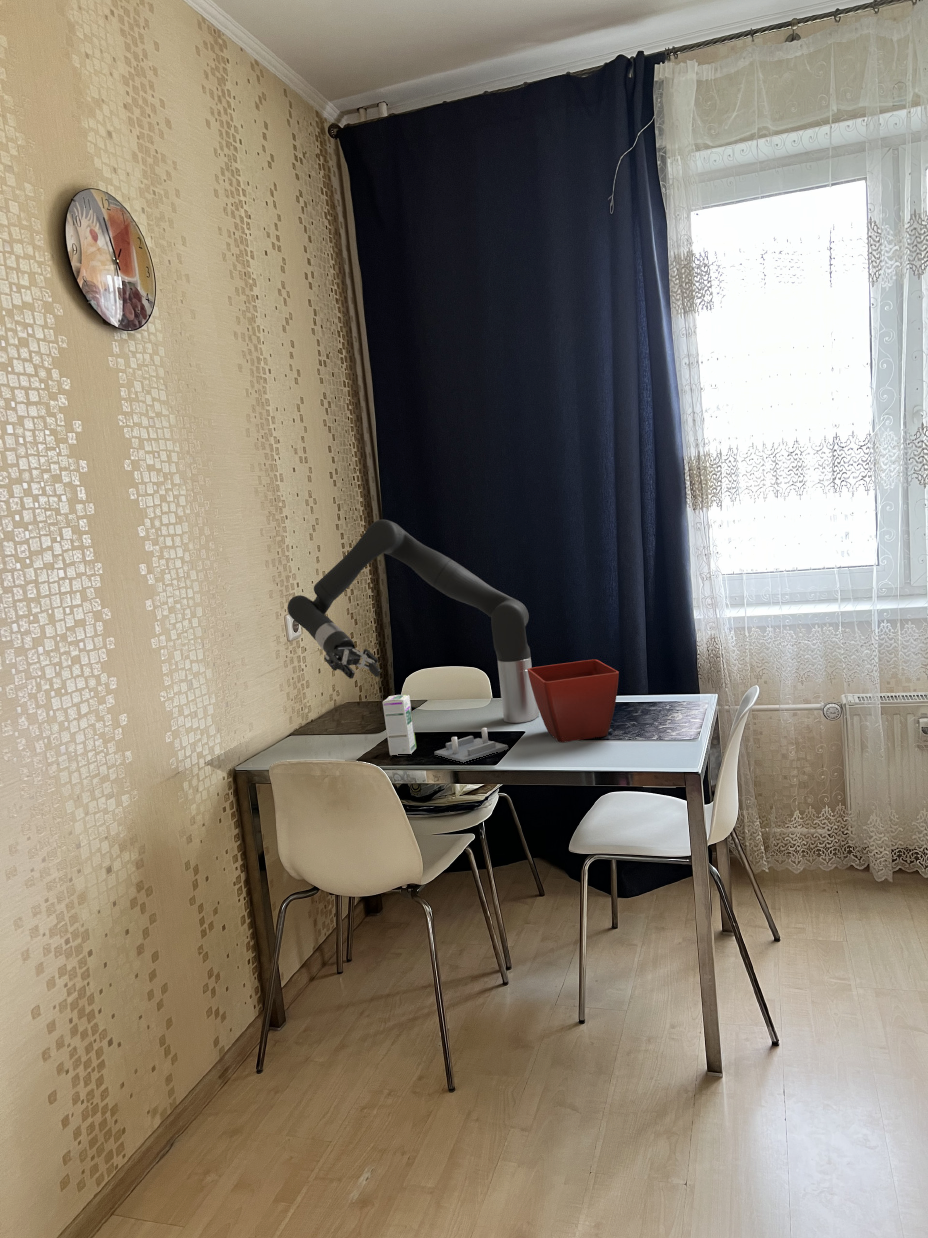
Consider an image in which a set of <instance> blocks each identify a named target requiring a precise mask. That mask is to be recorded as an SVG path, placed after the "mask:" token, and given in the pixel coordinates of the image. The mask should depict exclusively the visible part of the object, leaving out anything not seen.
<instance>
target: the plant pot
mask: <svg viewBox="0 0 928 1238" xmlns="http://www.w3.org/2000/svg"><path fill="white" fill-rule="evenodd" d="M527 670H528V675H529V679H530V683H531V687H532V690H533V694H534V697H535V700H536V703H537V706H538V709H539V715H540V717H541V719H542V722H543V724H544V726H545V729H546V730H547V732H548V733H549V734H550V735H551V736H552V737H553V738H554V739H555V740H556V741H557V742H558V743H567V742H568V743H569V742H575V741H580V740H581V741H582V740H590V739H595V737H596V738H602V737H607V736H608V734H609V730H610V728H611V725H612V721H613V717H614V712H615V707H616V703H617V694H618V689H619V688H618V687H619V686H618V685H619V676H620V673H619V672H620V671H618V670H616V669H615V668H613V667H611V666H609V665H607V664H605V663H603V662H602V661H600V660H599V659H588V660H587V659H585V660H579V661H573V662H565V663H557V664H550V665H542V666H535V667H532V668H529V669H527Z"/></svg>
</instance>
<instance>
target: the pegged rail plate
mask: <svg viewBox="0 0 928 1238" xmlns="http://www.w3.org/2000/svg"><path fill="white" fill-rule="evenodd" d="M507 749H508V750H509V745H507V744H503V743H500V742H496V741H491V740H489V737H488V728H487V727H482V728H481V738H479V737H477V738H474V736H473V735H469V736H466V737H463V738H460V739H458V737H457V736H452V737H451V741H450V742H446V743H445V747H444V748H442V749H439V750H436V751H434V756H435V755H438V756H442V757H445V758H448V759H452V760H456V761H460V762H463V763H464V762H466V761H469V760H472V759H476V758H479V757H483V756H486V755H489V754H492V753H495V754H497V753H496V752H498V753H502V752H503V751H504V750H505V751H507ZM492 755H493V754H492ZM438 756H437V757H438ZM489 756H490V755H489ZM486 757H487V756H486ZM445 758H444V759H445ZM483 758H484V757H483ZM448 759H447V760H448ZM452 760H451V761H452Z"/></svg>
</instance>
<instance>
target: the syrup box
mask: <svg viewBox="0 0 928 1238" xmlns="http://www.w3.org/2000/svg"><path fill="white" fill-rule="evenodd" d="M410 698H411V697H410V695H409V694H396V695H390V696H388V697H387V698H386V699H384V700H383V701H382V708H383V715H384V721H385V722H384V723H385V728H386V729H385V730H386V731H385V732H386V736H387V737H386V738H387V745H388V751H389V755H390V756H392V755H397V756H399V755H398V754H411V755H412V753H413V752H414V751H415V750H416V749H417V741H416V735H415V734H416V733H415V726H414V720H413V714H412V713H413V712H412V705H411V699H410Z"/></svg>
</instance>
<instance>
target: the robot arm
mask: <svg viewBox="0 0 928 1238" xmlns="http://www.w3.org/2000/svg"><path fill="white" fill-rule="evenodd" d="M382 554H385V555H387V556H391V557H393V558H394V559H397V560H398V561H400V562H401V563H403V564H405V565H407V566H408V567H409V568H411V569H412V570H413V571H414V573H416V574H417V575H418V576H419V577H420V578H422V580H424V581H425V582H426V583H427V584H428V585H430V586H431V587H433V588H434V589H436V590H437V591H439V592H440V593H442V594H444V595H445V596H447V597H449V598H450V599H453V600H456V601H458V602H460V603H464V604H466V605H468V606H472V607H474V608H476V609H478V610H480V611H482V613H484V614H486V615H487V616H488V617H490V618H491V620H490V621H491V622H490V623H491V624H490V625H491V632H492V641H493V647H494V648H493V649H494V651H495V654H496V659H497V668H498V677H499V686H500V687H499V688H500V698H501V707H502V716H503V717H502V718H503V721H504V722H506V723H509V724H510V723H513V724H514V723H515V724H516V723H526V722H527V723H528V722H530V721H533V720H536V718H538V717H540V712H539V709H538V706H537V703H536V700H535V697H534V694H533V690H532V687H531V683H530V679H529V675H528V670H527V669H529V668H533V667H532V659H531V658H532V657H531V656H532V655H531V649H530V646H529V645H528V642H527V641H528V640H527V632H526V626H527V624H528V622H529V618H530V617H529V615H530V614H529V612H528V609H527V607H526V606H525V604H523V603H522V602H521V601H519V600H518V599H515V598H514V597H511V596H509V595H507V594H505V593H503V592H501V591H499V590H497V589H496V588H494V587H492V586H491V585H489V584H488V583H486V582H485V581H484V580H482V579H481V578H479V577H478V576H477V575H475V574H474V573H472V572H471V571H470V570H468V569H467V568H465V567H464V566H462V565H461V564H459V563H458V562H456V561H454V560H453V559H452V558H450V557H449V556H446V555H444V554H443V553H441V552H439V551H437V550H435V549H433V548H430V547H428V546H426V545H425V544H423V543H421V542H420V541H418V540H417V539H416V538H414V537H413V536H412V535H410V534H409V533H408V532H407V531H405V529H403V528H402V527H401V526H400V525H399V524H397V523H396V522H393V521H391V520H388V519H378V520H376V521H374V522H372V523H371V524H370V526H369V527H367V529H366V530H365V532H364V533H363V534H362V536H361V537H360V538H359V540H358V541H357V542H356V543H355V545H354V546H353V547H352V548H351V550H349V552H347V553H346V554H345V556H343V558H342V559H340V561H338V562H337V563H336V564H335V565H334V566H333V567H332V568H331V569H330V570H329V571H328V572H327V573H325V575H323V577H321V578H320V580H318V581H317V582H316V583H315V584H314V586H313V592H314V594H315V595H316V597H315V598H314V600H312V599H310V598H308V597H307V596H305V595H300V594H299V595H295V596H293V597H291V598H290V600H289V601H288V603H287V613H288V615H289V616H290V618H291V619H292V620H294V622H296V623H297V624H298V625H300V626H301V627H302V628H304V630H306V631H307V632H308V634H309V635H310V636H311V637H312V638H313V639H314V640H315V642H317V645H318V647H320V648H321V649H322V650H323V651H324V652H325V655H324V661H325V662H326V663H327V665H328V666H329V667H330V668H331V670H333V671H335V672H336V671H339V672H342V673H343V674H344V675H345V676H346V677H348V679H350V680H351V679H354V676H355V673H356V672H355V670H354V669H353V668H352V667H351V666H357V667H359V668H361V669H362V668H365V669H368V670H369V672H370V673H371V674H372V675H373V676H374V677H375V678H376V677H377V678H378V677H380V674H381V668H379V667H378V666H377V665H378V663H379V659H378V658H377V657H376V656H375V655H374V654H373V653H372V652H371V651H370V650H369V649H368V648H364V649H363V651H360V650H359V649H357V648H356V646H355V643H354V641H353V640H352V638H350V636H349V635H347V633H346V632H345V631H343V629H341V627H339V626H338V625H337V624H336V623H335V622H333V620H331V618H330V617H329V616H327V615H326V613H328V610H329V609H330V608H331V606H332V605H333V602H334V601H336V599H337V598H338V597H340V595H342V594H344V592H345V591H346V590H347V589H349V587H350V586H351V585H352V584H353V583H354V581H355V580H356V578H357V577H358V576H359V575H360V573H361V572H362V571H363V569H365V567H367V566H368V565H369V564H370V563H371V562H372V561H373V560H375V559H376V558H378V557H379V556H381V555H382ZM361 658H362V661H361ZM360 661H361V662H360ZM366 663H367V664H366Z"/></svg>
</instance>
